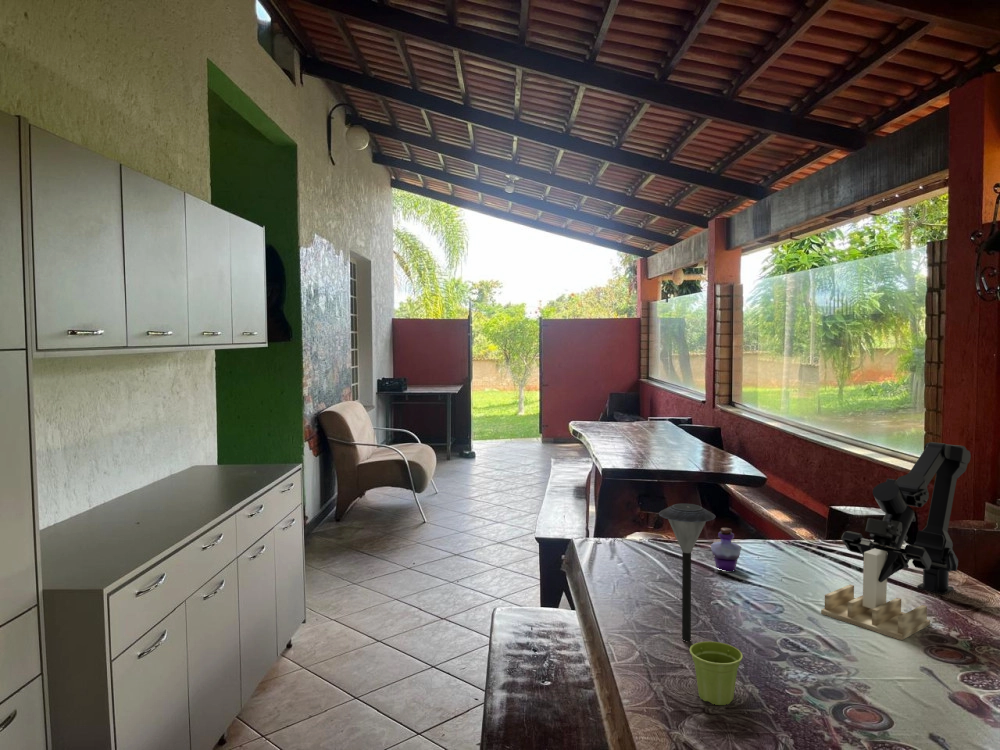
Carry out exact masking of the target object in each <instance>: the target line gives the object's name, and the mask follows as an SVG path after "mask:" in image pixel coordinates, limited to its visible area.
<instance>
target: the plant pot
mask: <svg viewBox="0 0 1000 750" xmlns="http://www.w3.org/2000/svg"><path fill="white" fill-rule="evenodd" d="M689 653H690V655H691V656H692V657H691V658H692V661H693V663H694V669H695V677H696V684H697V692H698V696H699V698H700V699H701V700H702V699H703V702H709V703H711V704H712V705H714V704H715V705H714V706H725V705H726V704H727V705H730V703H732V701H733V700H734V695H735V688H736V681H737V674H738V668H739V667H740V664H741V663H740V662H741V661H742V660H743V657H744V656H743V653H742V651H741V650H739V649H738V647H735V646H733V645H731V644H728V643H724V642H720V641H708V640H707V641H699V642H696V643H694V644H691V645H690V647H689Z"/></svg>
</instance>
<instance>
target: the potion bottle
mask: <svg viewBox="0 0 1000 750" xmlns="http://www.w3.org/2000/svg"><path fill="white" fill-rule="evenodd" d="M732 531H733V529H732V528H729V527H721V528H720V531H719V532H718V533H717V537H718V538H719V539H720V541H714V542H713V543H711V544H710V548H711V554H712V555H713V559H714V563H715V568H716V567H717V568H719V569H722V570H726V571H733V570H735V571H736V568H737V564H738V560H739V558H740V555H741V552H742V551H741V550H742V546H741V545H739V544H737V543H735V542H732V540H733V539H734V538H735V533H733V532H732Z"/></svg>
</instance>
